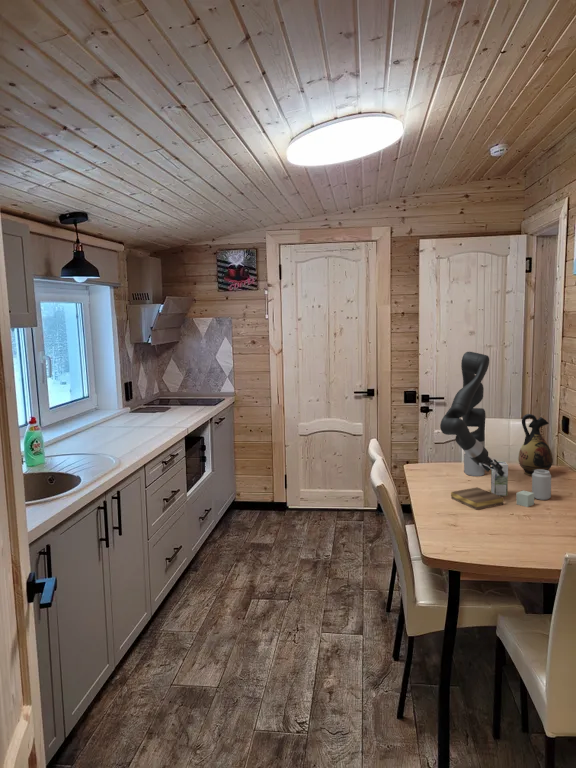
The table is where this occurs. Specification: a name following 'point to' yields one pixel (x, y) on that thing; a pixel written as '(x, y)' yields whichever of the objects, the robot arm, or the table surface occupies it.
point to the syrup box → (500, 480)
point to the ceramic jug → (534, 447)
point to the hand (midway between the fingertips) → (495, 472)
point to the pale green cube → (525, 498)
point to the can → (541, 484)
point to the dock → (477, 498)
